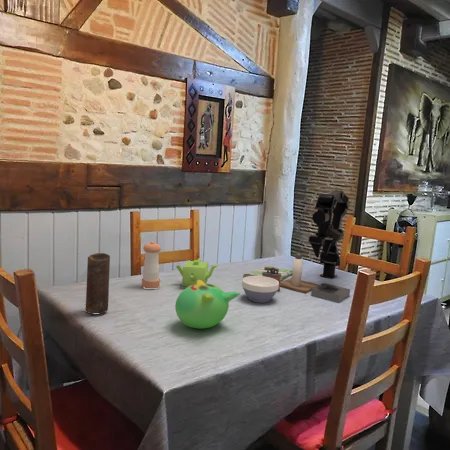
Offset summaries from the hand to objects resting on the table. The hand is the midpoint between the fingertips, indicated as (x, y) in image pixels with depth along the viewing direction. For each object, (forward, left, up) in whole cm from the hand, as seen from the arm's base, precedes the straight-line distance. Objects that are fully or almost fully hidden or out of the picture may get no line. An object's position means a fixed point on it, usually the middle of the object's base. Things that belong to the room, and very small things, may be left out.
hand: (321, 256), depth 198 cm
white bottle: (+13, -5, -12) cm, 18 cm away
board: (+11, -5, -13) cm, 18 cm away
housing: (+13, +11, -13) cm, 21 cm away
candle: (+92, -40, -13) cm, 101 cm away
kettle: (+44, -36, -13) cm, 58 cm away
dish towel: (+5, -23, -14) cm, 27 cm away
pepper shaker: (+59, -48, -13) cm, 77 cm away
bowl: (+39, -8, -13) cm, 42 cm away
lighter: (+25, -11, -13) cm, 30 cm away
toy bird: (+76, -7, -13) cm, 77 cm away
